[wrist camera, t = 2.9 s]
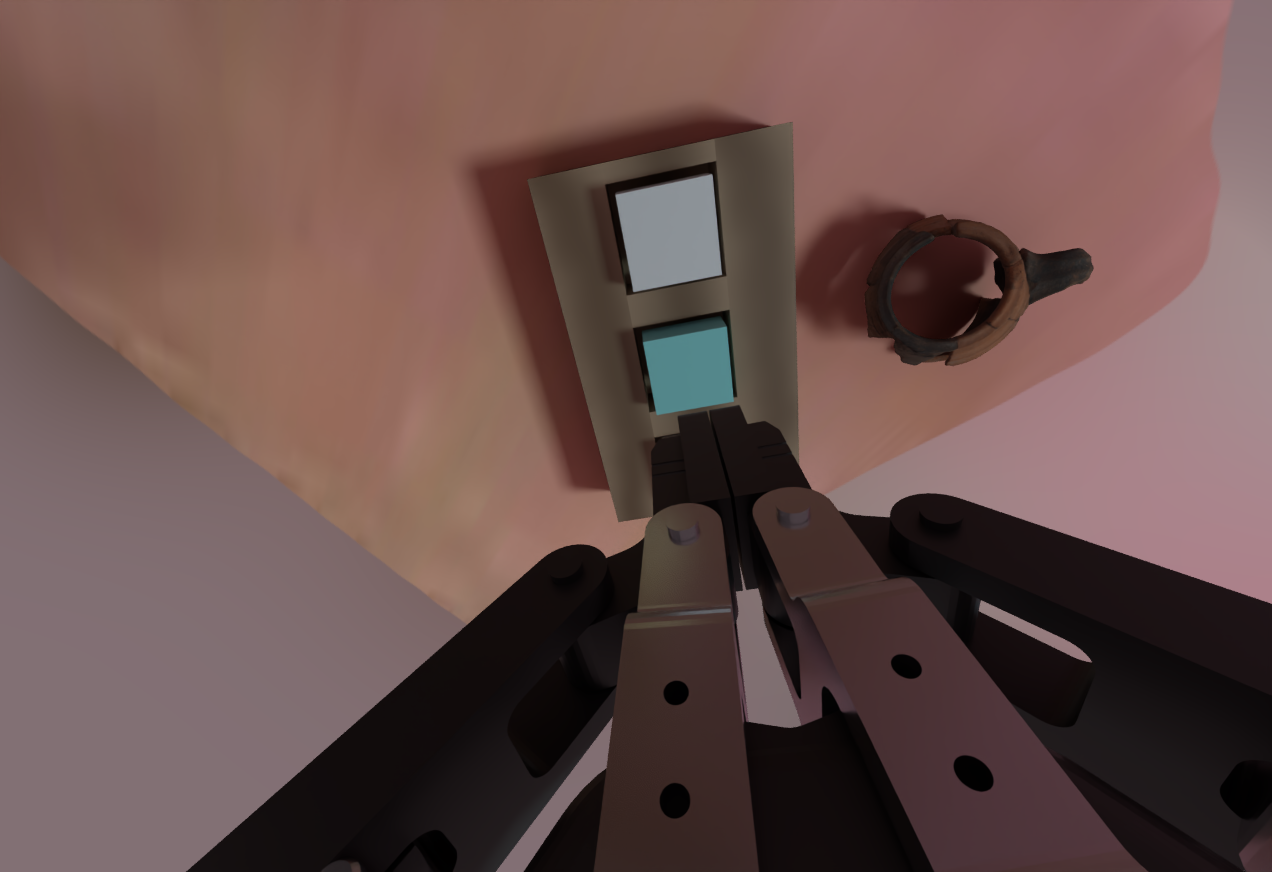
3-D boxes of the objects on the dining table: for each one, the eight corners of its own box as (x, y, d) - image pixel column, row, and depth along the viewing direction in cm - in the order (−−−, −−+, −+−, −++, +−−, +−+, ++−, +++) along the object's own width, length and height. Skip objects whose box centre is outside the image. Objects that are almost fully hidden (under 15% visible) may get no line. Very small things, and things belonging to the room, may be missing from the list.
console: (619, 491, 41) (618, 522, 37) (538, 176, 29) (527, 179, 26) (784, 464, 40) (799, 493, 36) (771, 126, 28) (792, 121, 24)
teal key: (654, 400, 33) (656, 415, 31) (641, 330, 31) (643, 342, 29) (727, 387, 33) (733, 401, 31) (720, 315, 30) (726, 326, 28)
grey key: (633, 283, 29) (633, 292, 27) (616, 192, 27) (615, 194, 25) (715, 266, 29) (721, 274, 27) (705, 173, 26) (712, 174, 24)
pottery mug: (878, 381, 37) (886, 390, 29) (842, 261, 36) (842, 241, 29) (1075, 324, 32) (1145, 319, 24) (1036, 185, 31) (1096, 136, 24)
